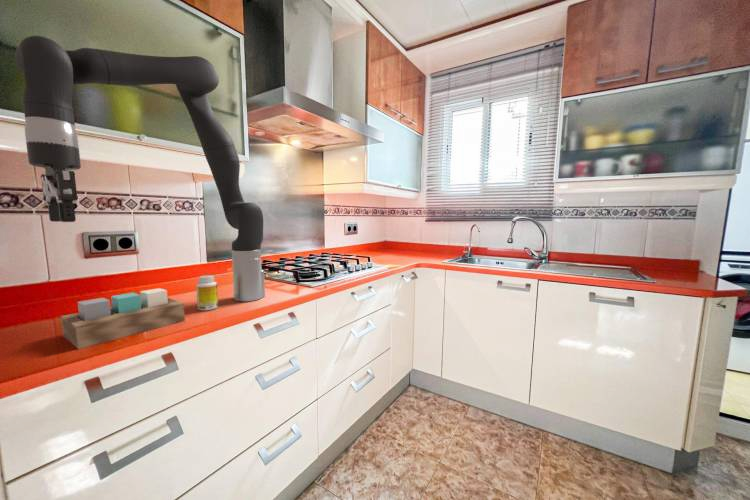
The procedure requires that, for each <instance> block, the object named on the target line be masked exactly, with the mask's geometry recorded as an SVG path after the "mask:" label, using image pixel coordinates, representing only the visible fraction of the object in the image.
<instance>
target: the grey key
mask: <svg viewBox="0 0 750 500" xmlns="http://www.w3.org/2000/svg"><path fill="white" fill-rule="evenodd" d="M110 307H111V299H108V298H105V297H99V298H93V299H88V300H81V301H77V309H78V313H79V319H81V320H82V321H86V320H91V319H96V318H100V317H105V316H110V315H111V309H110Z"/></svg>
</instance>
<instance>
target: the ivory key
mask: <svg viewBox="0 0 750 500" xmlns="http://www.w3.org/2000/svg"><path fill="white" fill-rule="evenodd" d="M139 293H140V294H139V295H140V298H141V305H142V306H144V307H147V308H148V307H152V306H157V305H162V304H167V303H168V298H169V297H168V290H167V289H164V288H161V287H158V288H153V289H146V290H141V291H139Z"/></svg>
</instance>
